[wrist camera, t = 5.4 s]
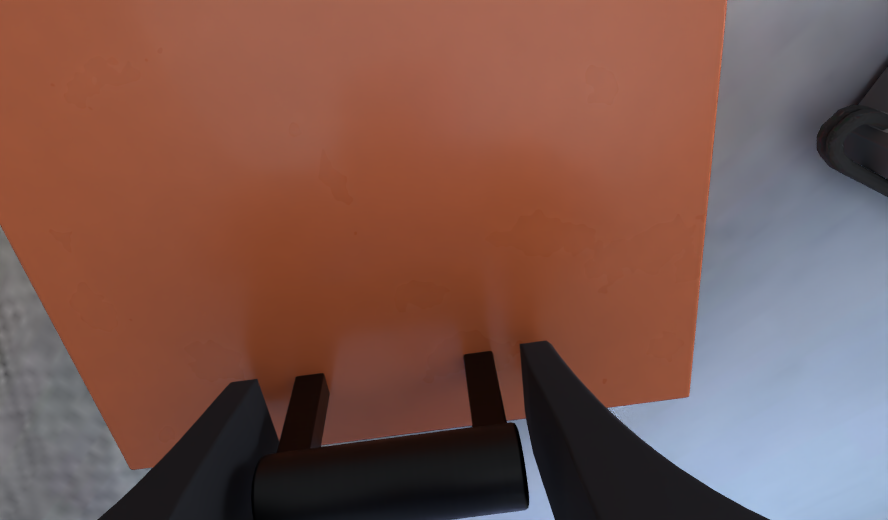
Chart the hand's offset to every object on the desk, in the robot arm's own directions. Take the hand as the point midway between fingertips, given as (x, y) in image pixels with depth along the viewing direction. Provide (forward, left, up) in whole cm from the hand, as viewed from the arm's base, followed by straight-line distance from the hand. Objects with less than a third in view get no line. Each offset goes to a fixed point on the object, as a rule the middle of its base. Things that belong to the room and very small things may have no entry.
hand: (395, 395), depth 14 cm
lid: (+3, +3, -1) cm, 4 cm away
